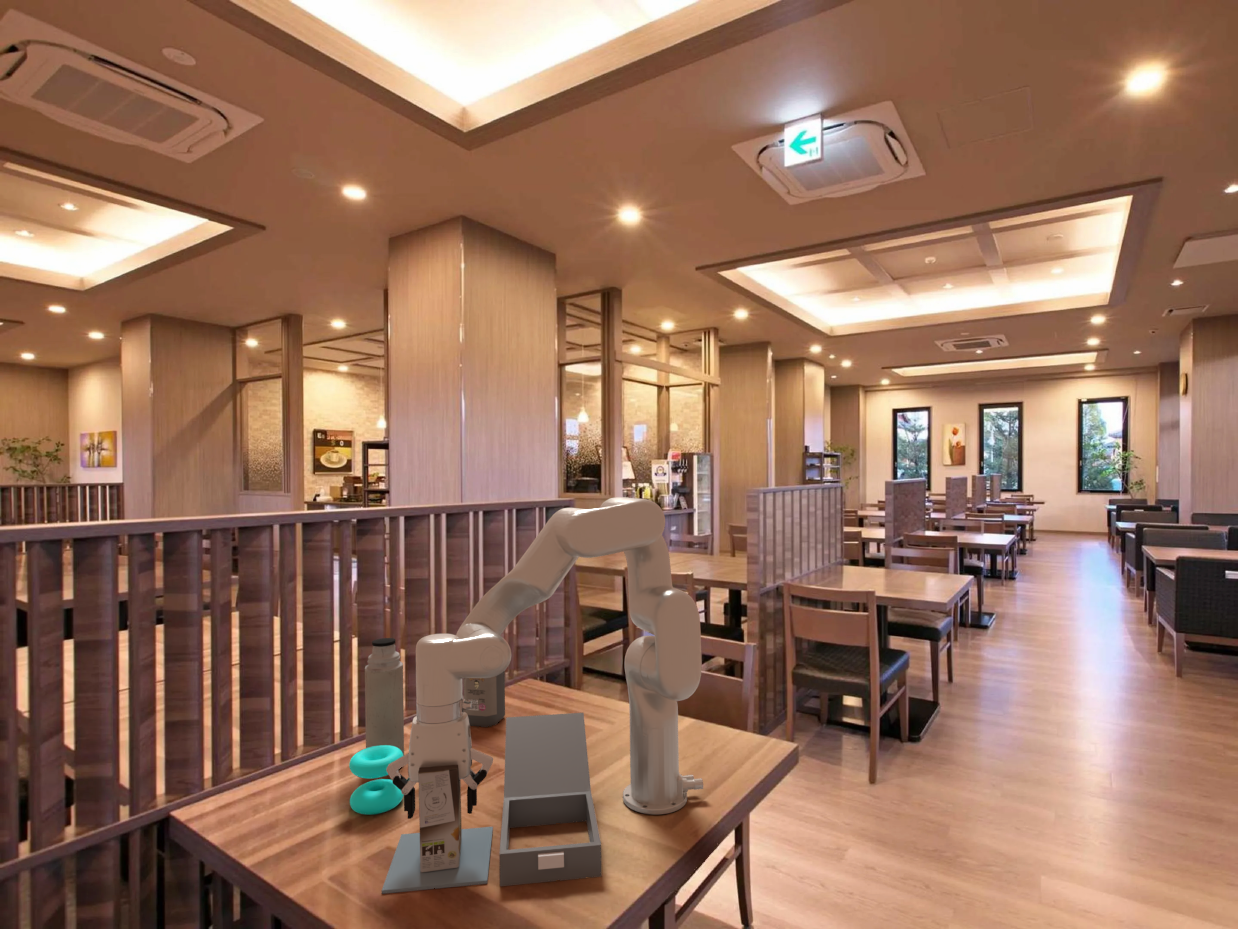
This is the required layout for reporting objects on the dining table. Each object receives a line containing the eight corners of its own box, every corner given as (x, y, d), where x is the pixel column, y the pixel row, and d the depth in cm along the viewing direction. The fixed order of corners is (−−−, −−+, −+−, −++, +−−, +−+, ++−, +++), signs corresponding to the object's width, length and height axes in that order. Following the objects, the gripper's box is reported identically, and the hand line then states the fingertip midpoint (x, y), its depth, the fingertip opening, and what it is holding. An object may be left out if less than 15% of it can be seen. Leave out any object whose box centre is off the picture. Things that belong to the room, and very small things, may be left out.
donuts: (337, 761, 127) (370, 740, 136) (338, 814, 127) (371, 789, 136) (383, 767, 124) (413, 745, 134) (383, 820, 124) (414, 795, 134)
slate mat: (492, 829, 120) (492, 826, 120) (487, 883, 105) (487, 880, 105) (401, 837, 118) (401, 834, 118) (381, 893, 102) (381, 890, 102)
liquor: (493, 728, 168) (492, 609, 168) (460, 725, 170) (459, 608, 170) (508, 715, 177) (506, 602, 177) (476, 713, 179) (474, 601, 179)
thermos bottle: (373, 759, 151) (371, 635, 151) (408, 758, 151) (407, 634, 151) (360, 775, 143) (359, 644, 143) (398, 774, 143) (396, 644, 143)
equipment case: (591, 818, 124) (590, 791, 124) (602, 879, 105) (601, 847, 105) (504, 825, 122) (503, 798, 122) (499, 889, 103) (499, 857, 103)
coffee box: (460, 868, 108) (458, 769, 108) (419, 874, 107) (417, 773, 107) (462, 837, 117) (460, 746, 117) (424, 842, 116) (422, 750, 116)
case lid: (590, 791, 124) (590, 794, 124) (583, 712, 139) (583, 715, 140) (503, 798, 122) (504, 801, 122) (506, 717, 137) (506, 720, 138)
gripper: (493, 699, 117) (494, 797, 116) (391, 705, 114) (392, 805, 114) (490, 714, 109) (492, 819, 109) (381, 721, 107) (382, 828, 107)
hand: (441, 812), depth 112 cm, fingers open, 9 cm apart
